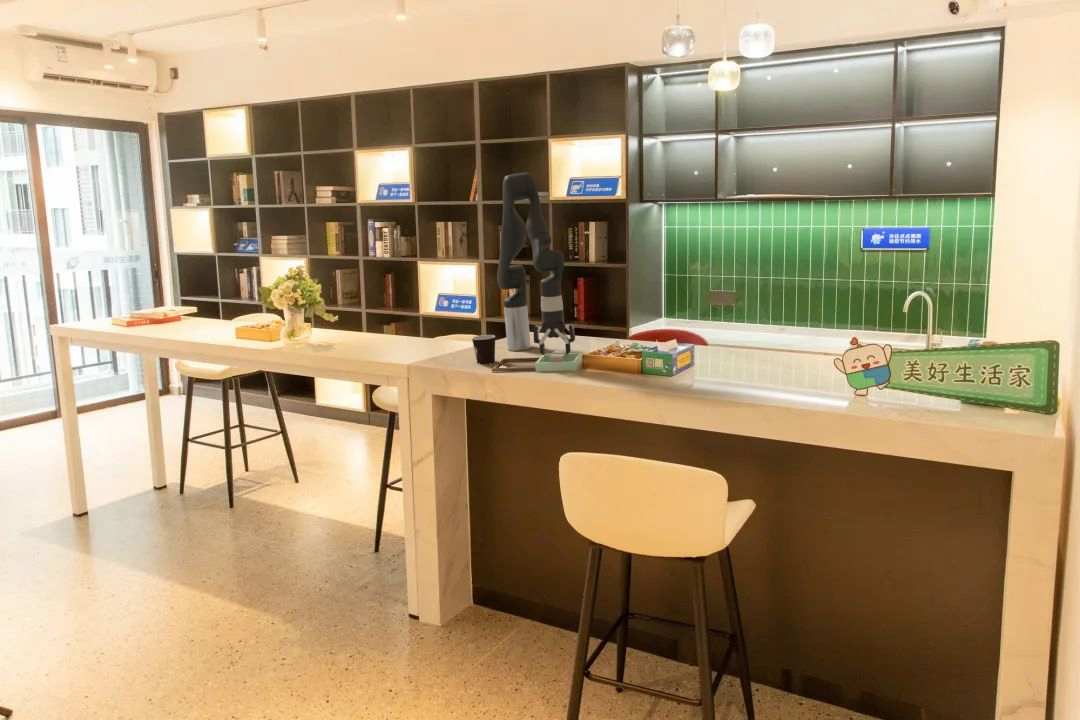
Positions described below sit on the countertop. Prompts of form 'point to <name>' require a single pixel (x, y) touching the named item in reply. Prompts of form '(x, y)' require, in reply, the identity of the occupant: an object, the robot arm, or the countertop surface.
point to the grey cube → (561, 353)
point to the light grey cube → (557, 358)
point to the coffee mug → (484, 348)
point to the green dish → (559, 363)
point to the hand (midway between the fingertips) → (555, 354)
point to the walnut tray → (517, 364)
